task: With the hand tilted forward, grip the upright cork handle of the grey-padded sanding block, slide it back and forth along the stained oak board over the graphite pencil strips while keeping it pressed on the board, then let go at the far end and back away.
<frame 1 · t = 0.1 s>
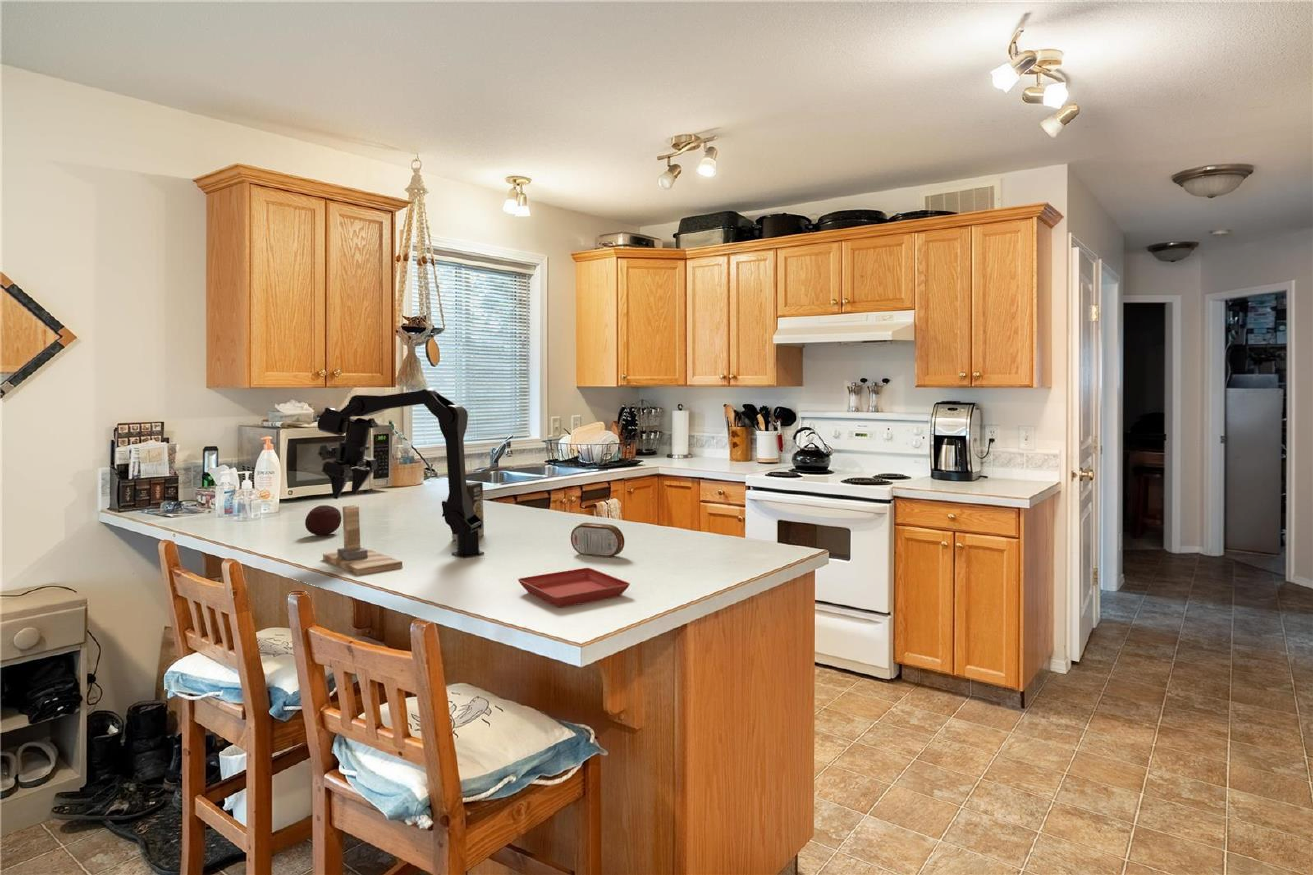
hand: (344, 496, 212), 15 cm above the table, tool pointing down, fingers open, 9 cm apart
tin: (597, 556, 206), on the table
coffee box: (468, 538, 233), on the table
board: (361, 563, 199), on the table
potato: (323, 536, 239), on the table
plant saucer: (573, 596, 167), on the table
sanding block: (352, 557, 200), point 2 cm above the table, touching board
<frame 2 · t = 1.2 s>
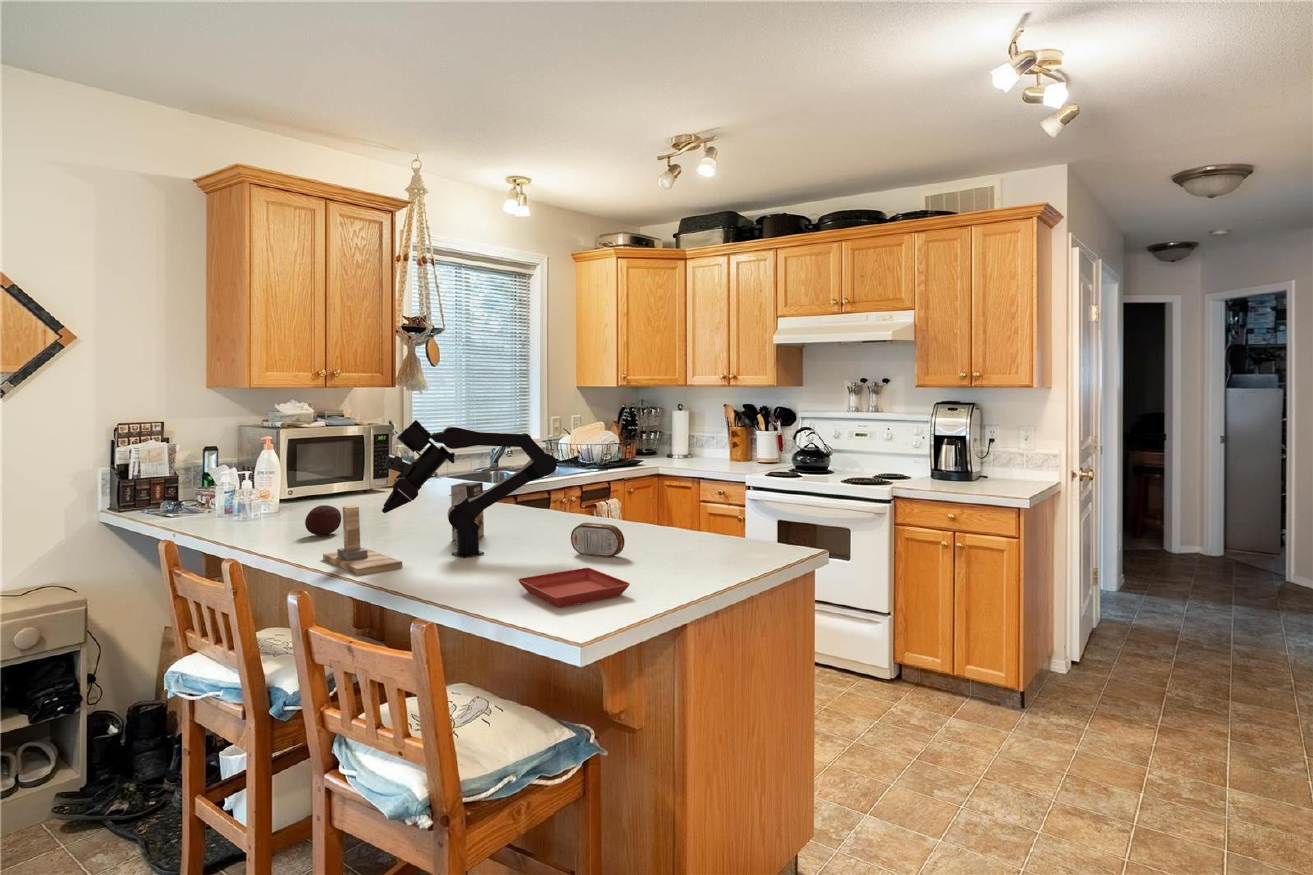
hand: (383, 509, 201), 13 cm above the table, tool tilted 45°, fingers open, 9 cm apart
nothing on the table moved.
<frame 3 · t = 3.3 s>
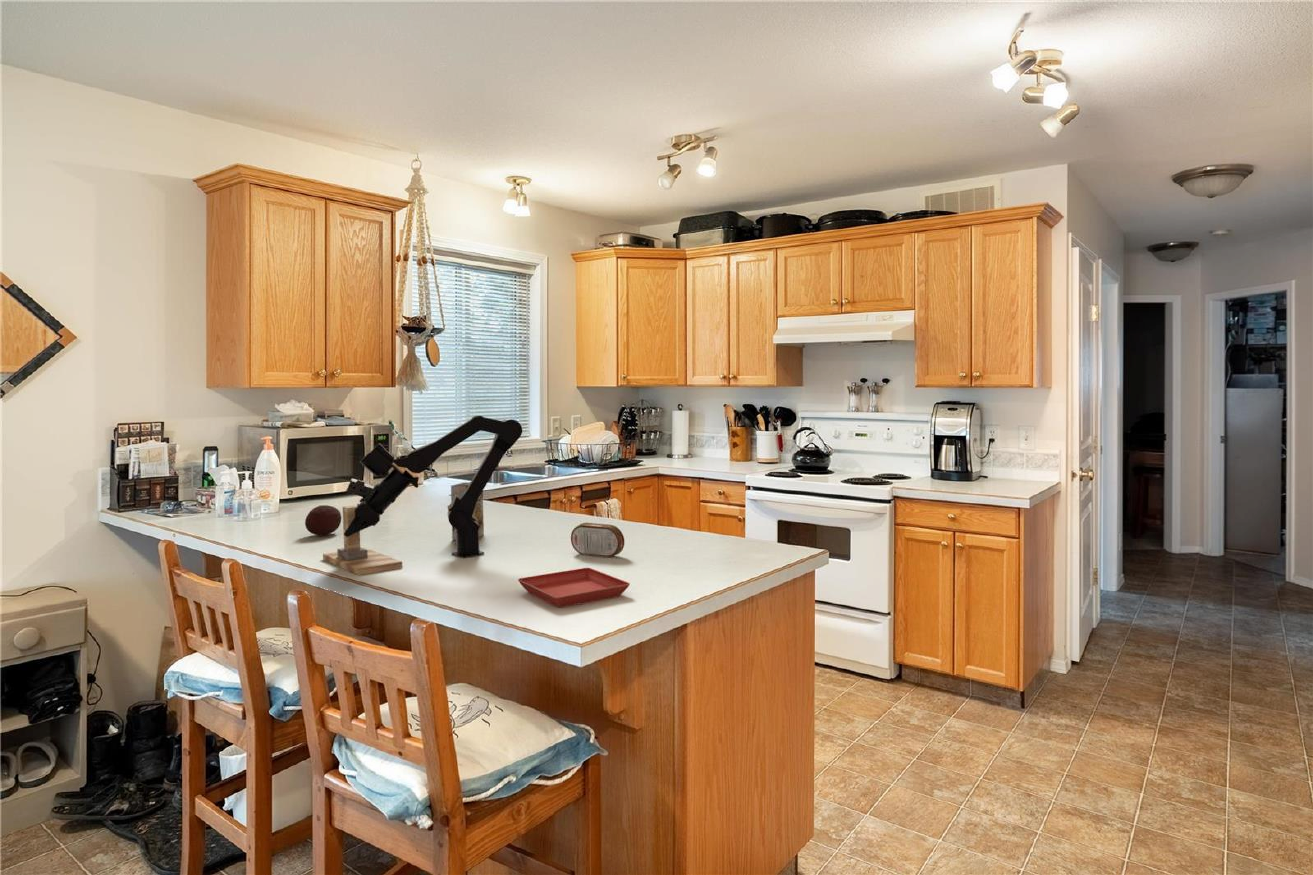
hand: (345, 534, 199), 8 cm above the table, tool tilted 45°, fingers closed on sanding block, 4 cm apart
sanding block: (352, 557, 200), point 2 cm above the table, touching board, gripper
everything else where it was.
when the fingers open (7 cm above the table, at t = 8.7 s): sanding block stays where it is, resting on board.
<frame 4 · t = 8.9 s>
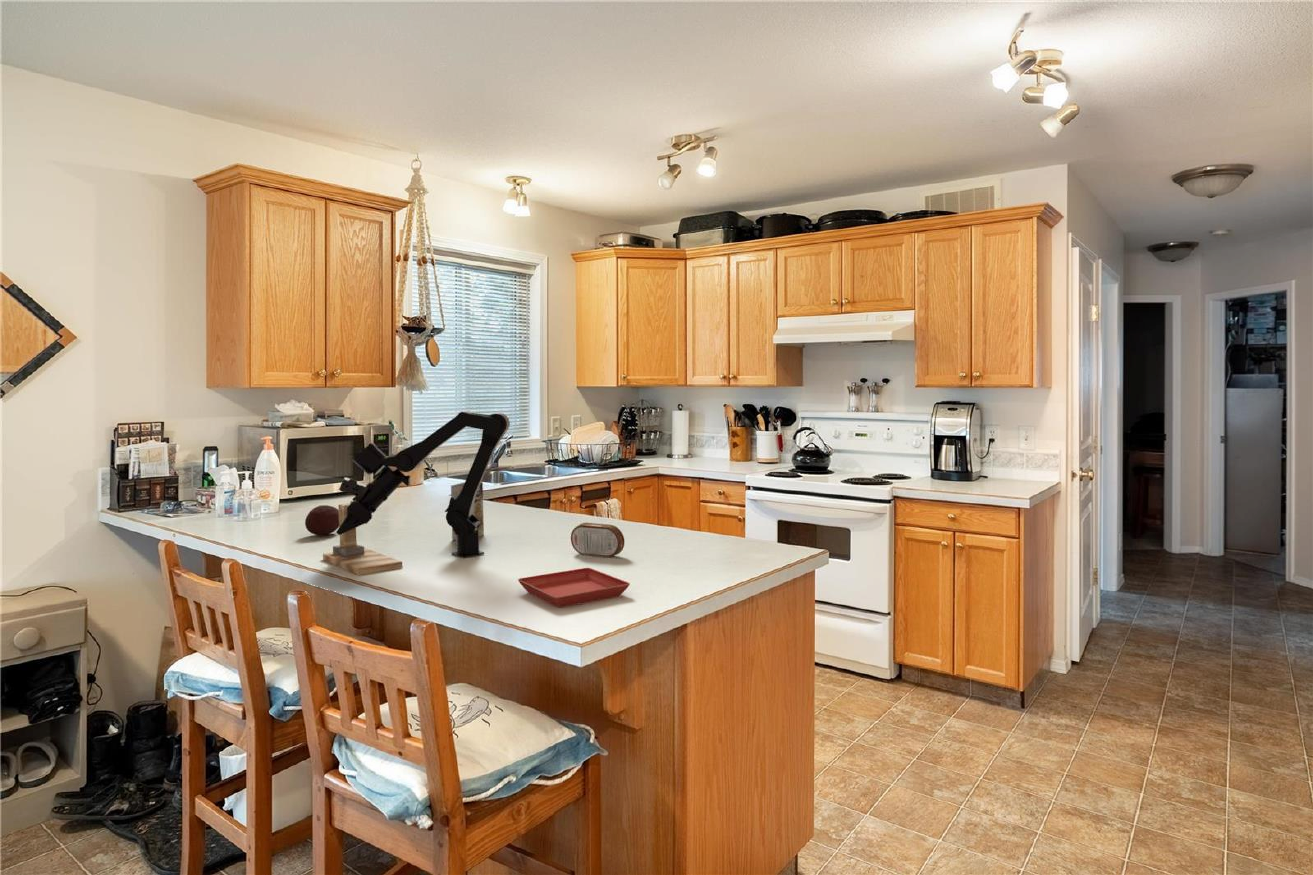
hand: (338, 531, 203), 8 cm above the table, tool tilted 45°, fingers open, 6 cm apart
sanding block: (348, 554, 204), point 2 cm above the table, touching board
everything else where it was.
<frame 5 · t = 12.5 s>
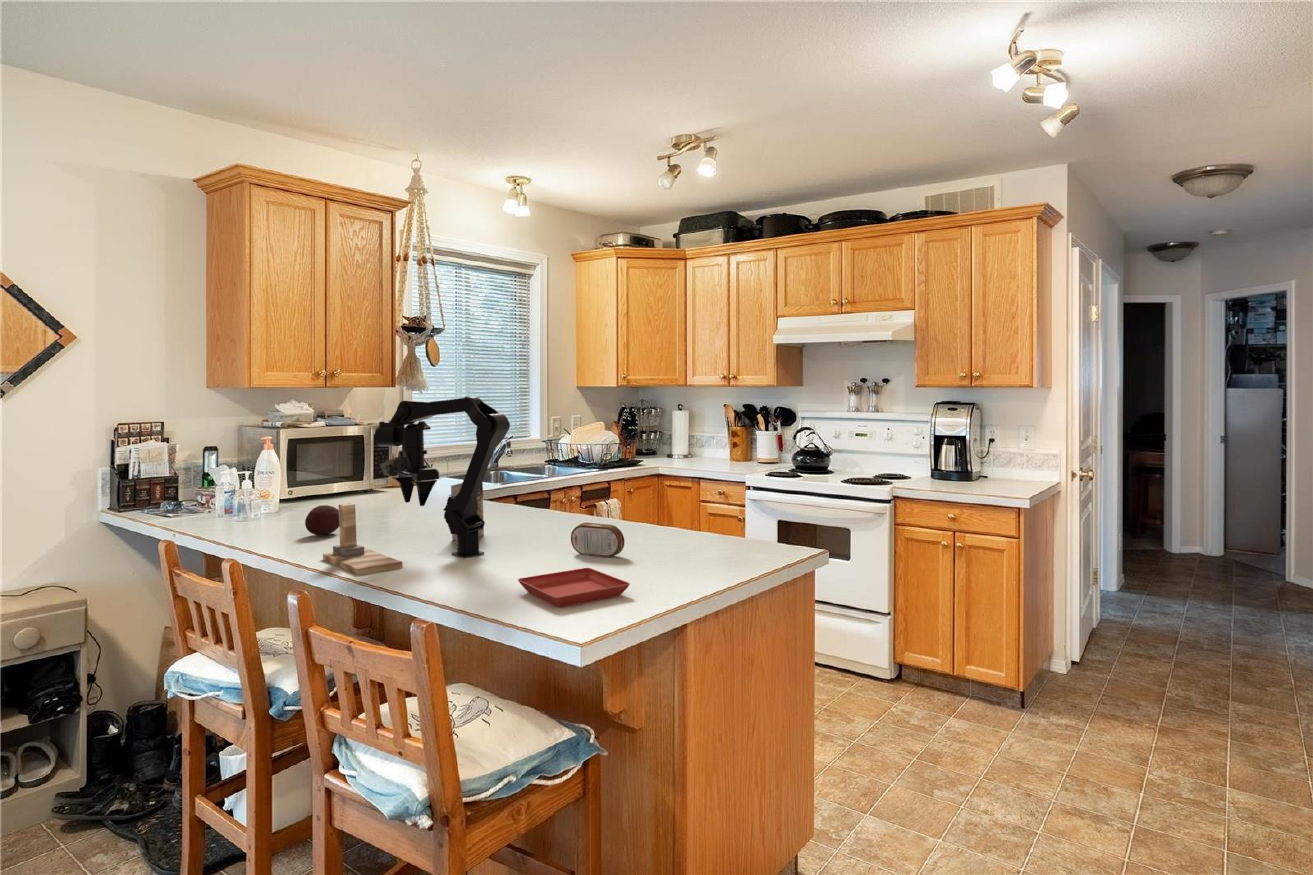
hand: (414, 504, 212), 13 cm above the table, tool pointing down, fingers open, 9 cm apart
nothing on the table moved.
at the end: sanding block inside the target area (1.1 cm from its centre), point 1.5 cm above the table; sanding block tilted 0°; the gripper is holding nothing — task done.
